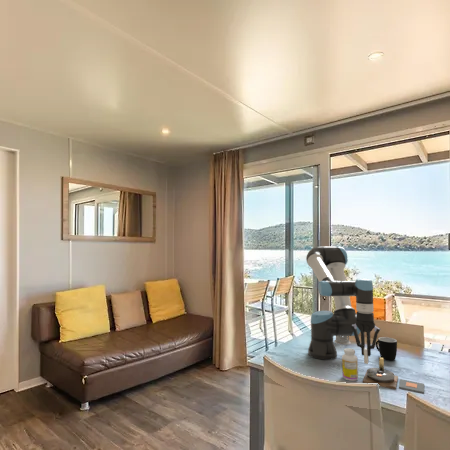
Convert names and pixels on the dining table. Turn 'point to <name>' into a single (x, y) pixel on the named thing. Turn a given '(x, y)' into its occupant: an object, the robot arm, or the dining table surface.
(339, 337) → the french press
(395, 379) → the base
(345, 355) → the supplement bottle
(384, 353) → the mug
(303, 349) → the dining table surface
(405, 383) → the pad
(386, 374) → the dark disc with post
